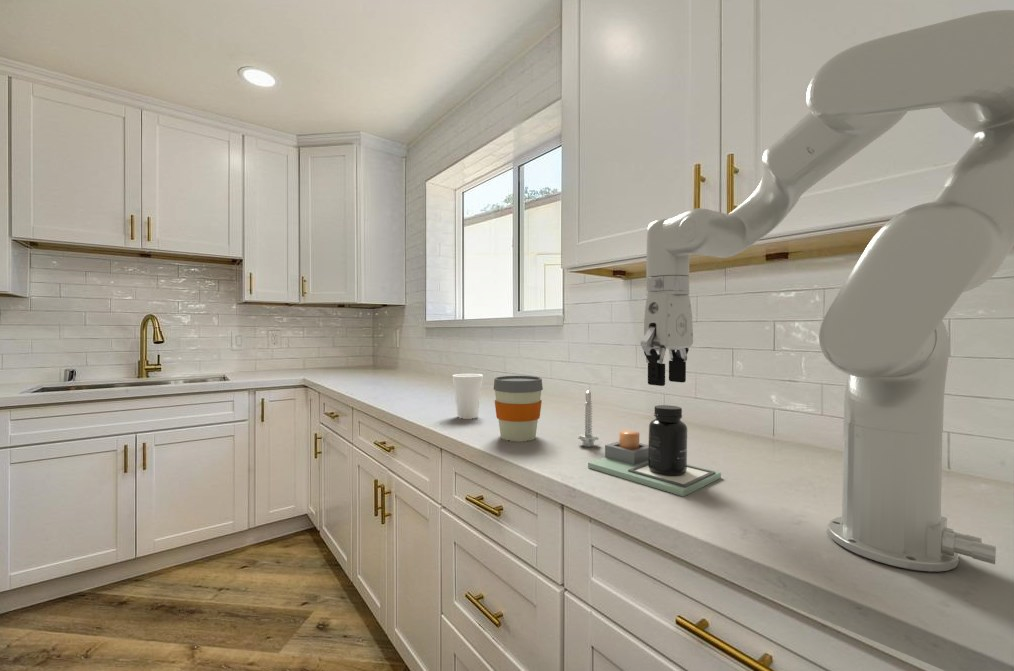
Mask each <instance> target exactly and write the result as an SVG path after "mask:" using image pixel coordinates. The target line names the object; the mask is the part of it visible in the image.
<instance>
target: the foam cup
mask: <svg viewBox="0 0 1014 671" xmlns="http://www.w3.org/2000/svg"><path fill="white" fill-rule="evenodd" d="M483 378H484V376H483V374H481V373H456V374H452V385H453V390H454V391H453V393H454V399H455V405H456V415H457V418H458V417H459V419H461V418H463V419H465V420H472V418H473V419H476V418H478V417H479V412H480V402H481V395H482V386H483V383H484V379H483ZM463 419H462V420H463Z"/></svg>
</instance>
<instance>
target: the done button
mask: <svg viewBox="0 0 1014 671" xmlns="http://www.w3.org/2000/svg"><path fill="white" fill-rule="evenodd" d="M618 435H619V438H618V439H619V440H618V441H619V447H622V448H626V449H630V450H634V449H638V448H639V443H640V432H639V431H635V430H626V429H625V430H620V431H619V434H618Z"/></svg>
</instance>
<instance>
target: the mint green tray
mask: <svg viewBox="0 0 1014 671" xmlns="http://www.w3.org/2000/svg"><path fill="white" fill-rule="evenodd" d="M648 450H649V444H645V443H641V442H639V448H638V449H634V450H630V449H626V448H622V447H619V440H618V441H615V442H612V443H608V444H605V445H604V457H601V458H598V459H595V460H592V461H588V463H587V468H588V469H593V470H595V471H597V472H602V473H605V474H608V475H612V476H615V477H618V478H622V479H624V480H626V481H627V480H628V481H631V482H634V483H638V484H640V485H644V486H647V487H651V488H654V489H658V490H661V491H664V492H667V493H670V494H674V495H678V496H680V497H685V496H687V495H689V494H691V493H693V492H695V491H697V490H699V489H701V488H703V487H705V486H707V485H709V484H711V483H713V482H715V481H718V480H719V479H721V478H722V472H721V471H716V470H712V469H708V468H704V467H700V466H697V465H692V464H688V463H687V471H686V473H685V474H683V475H679V476H667V475H661V474H657V473H655V472H652V471H651V470H650V469H649V466H648Z"/></svg>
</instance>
